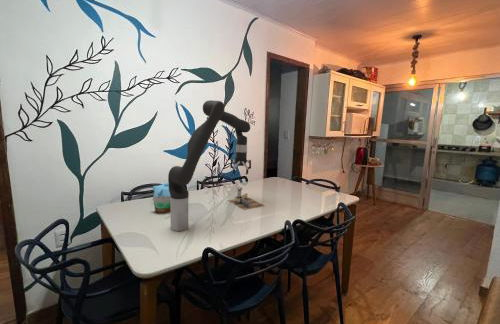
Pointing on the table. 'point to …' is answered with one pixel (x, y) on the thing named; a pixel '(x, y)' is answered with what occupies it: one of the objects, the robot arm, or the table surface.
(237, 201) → the hinge
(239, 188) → the hinge pin
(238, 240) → the table surface
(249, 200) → the mounting board
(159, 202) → the food container
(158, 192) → the light blue lumpy mass
